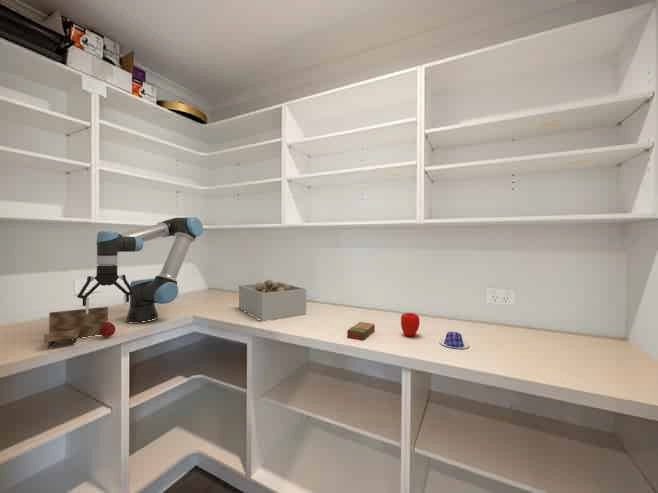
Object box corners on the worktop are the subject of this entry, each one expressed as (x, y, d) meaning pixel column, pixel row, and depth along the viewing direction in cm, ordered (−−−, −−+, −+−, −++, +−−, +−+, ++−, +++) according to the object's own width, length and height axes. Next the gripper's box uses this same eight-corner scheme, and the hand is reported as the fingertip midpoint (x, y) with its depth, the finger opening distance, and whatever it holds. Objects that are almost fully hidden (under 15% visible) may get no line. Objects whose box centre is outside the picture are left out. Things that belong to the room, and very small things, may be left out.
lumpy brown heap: (296, 319, 163) (296, 284, 163) (251, 318, 165) (252, 283, 165) (306, 305, 201) (306, 276, 201) (269, 304, 203) (270, 276, 202)
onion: (117, 335, 134) (117, 318, 133) (112, 339, 128) (112, 321, 128) (102, 336, 131) (102, 319, 131) (97, 340, 126) (97, 323, 126)
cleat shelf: (79, 338, 129) (79, 324, 129) (77, 345, 120) (77, 330, 120) (49, 343, 123) (49, 328, 123) (44, 350, 114) (44, 334, 114)
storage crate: (278, 303, 206) (278, 281, 206) (306, 314, 175) (306, 288, 175) (238, 309, 188) (239, 285, 188) (262, 322, 158) (262, 293, 158)
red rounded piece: (416, 339, 130) (417, 316, 130) (398, 336, 135) (398, 313, 135) (421, 334, 138) (421, 312, 138) (403, 331, 142) (403, 310, 142)
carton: (375, 332, 143) (375, 323, 143) (363, 341, 129) (363, 332, 129) (359, 329, 147) (359, 321, 147) (346, 338, 133) (346, 329, 133)
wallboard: (107, 333, 136) (107, 306, 136) (107, 334, 134) (107, 307, 134) (50, 341, 124) (50, 312, 124) (49, 343, 123) (49, 313, 122)
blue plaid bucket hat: (461, 340, 131) (461, 329, 131) (474, 350, 119) (474, 338, 119) (435, 340, 131) (435, 329, 131) (445, 350, 119) (445, 337, 119)
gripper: (139, 263, 140) (139, 306, 140) (71, 265, 125) (71, 313, 125) (140, 264, 134) (139, 309, 134) (69, 266, 119) (68, 316, 119)
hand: (106, 311), depth 129 cm, fingers open, 13 cm apart
